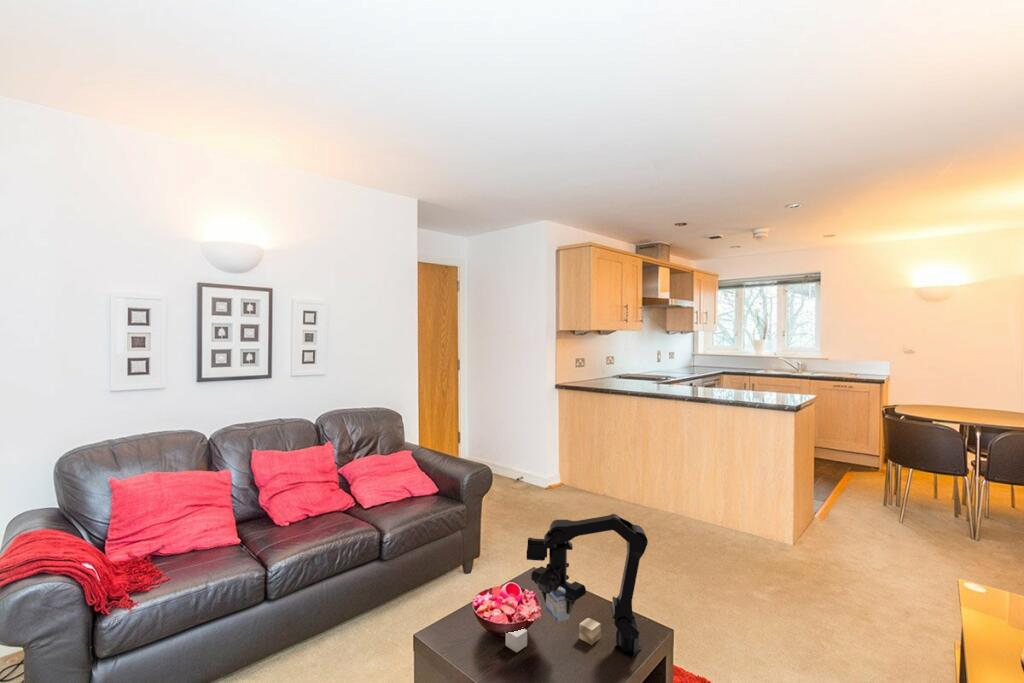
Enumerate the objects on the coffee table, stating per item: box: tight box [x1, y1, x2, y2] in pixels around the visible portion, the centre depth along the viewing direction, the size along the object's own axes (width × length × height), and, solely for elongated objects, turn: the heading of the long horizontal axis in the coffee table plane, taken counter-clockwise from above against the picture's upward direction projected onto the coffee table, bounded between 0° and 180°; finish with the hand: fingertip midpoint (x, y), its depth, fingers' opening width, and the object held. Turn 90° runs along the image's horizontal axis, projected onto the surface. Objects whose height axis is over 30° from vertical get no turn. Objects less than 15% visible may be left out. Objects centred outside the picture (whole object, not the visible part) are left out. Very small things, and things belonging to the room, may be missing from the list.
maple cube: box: [578, 617, 601, 646], centre depth 160 cm, size 5×5×5 cm
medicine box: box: [545, 586, 570, 623], centre depth 156 cm, size 8×4×9 cm, turn 25°
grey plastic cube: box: [505, 628, 528, 654], centre depth 155 cm, size 5×5×5 cm
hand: (557, 608), depth 156 cm, fingers closed on medicine box, 9 cm apart
